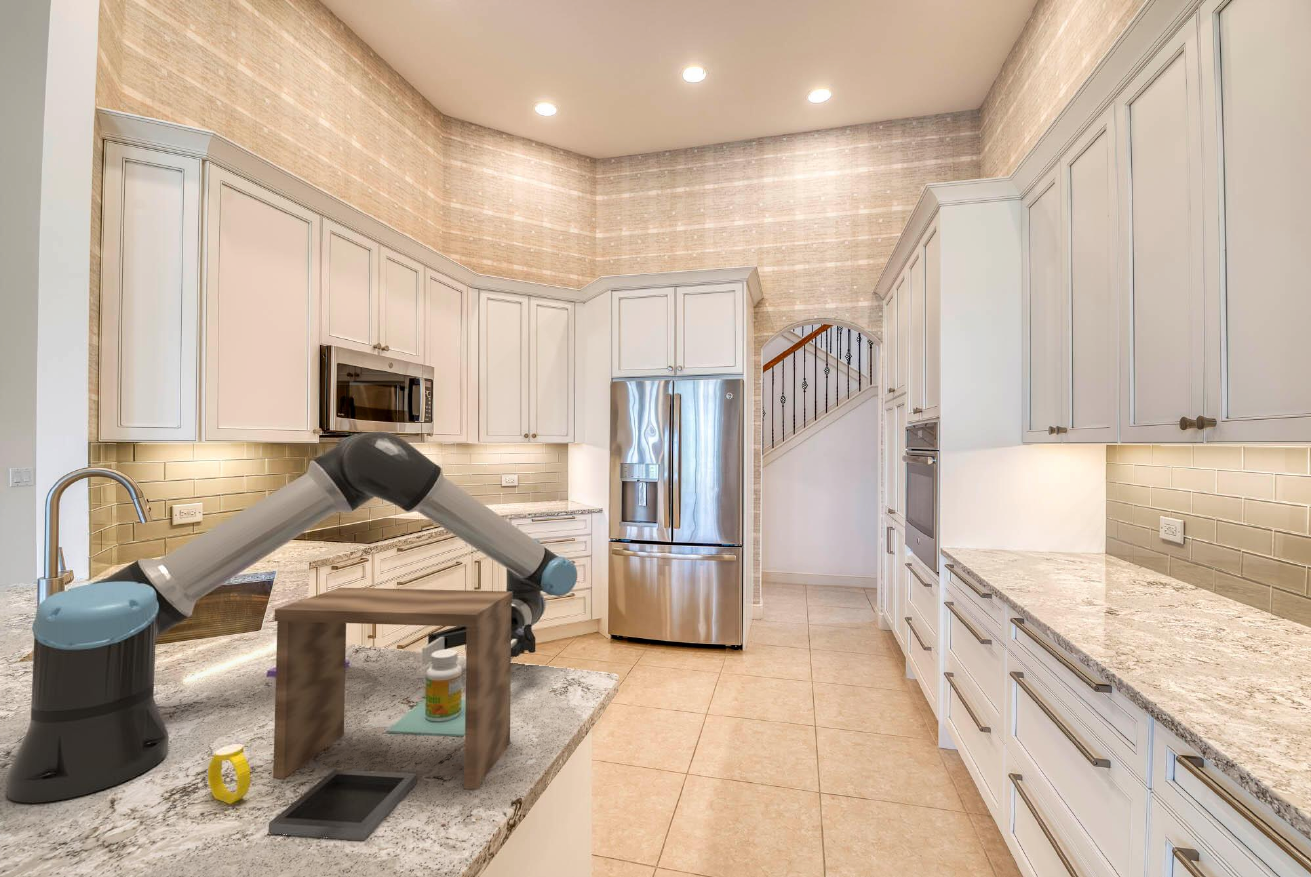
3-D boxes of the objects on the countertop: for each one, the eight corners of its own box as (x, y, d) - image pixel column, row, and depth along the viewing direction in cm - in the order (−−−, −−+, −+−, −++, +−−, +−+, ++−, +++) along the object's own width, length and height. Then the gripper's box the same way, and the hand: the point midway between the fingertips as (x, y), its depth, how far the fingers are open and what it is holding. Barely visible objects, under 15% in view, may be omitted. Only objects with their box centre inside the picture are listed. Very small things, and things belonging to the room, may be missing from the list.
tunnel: (336, 732, 86) (339, 587, 87) (511, 740, 84) (512, 591, 84) (270, 779, 73) (274, 609, 74) (474, 791, 71) (476, 614, 71)
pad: (425, 699, 98) (425, 698, 98) (494, 702, 97) (494, 701, 97) (386, 732, 86) (386, 730, 86) (463, 736, 85) (463, 734, 85)
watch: (201, 802, 69) (200, 750, 69) (226, 789, 72) (225, 740, 72) (232, 810, 67) (231, 757, 67) (257, 797, 69) (256, 746, 70)
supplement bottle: (417, 718, 90) (418, 655, 91) (444, 705, 95) (445, 645, 95) (441, 725, 88) (443, 660, 88) (468, 711, 92) (469, 650, 93)
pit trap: (334, 778, 73) (334, 769, 74) (416, 783, 72) (416, 773, 72) (268, 834, 63) (268, 822, 63) (363, 840, 61) (364, 829, 61)
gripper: (566, 643, 117) (534, 683, 96) (449, 639, 119) (392, 677, 98) (567, 605, 117) (534, 637, 96) (449, 602, 120) (393, 633, 99)
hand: (462, 657), depth 97 cm, fingers open, 13 cm apart
